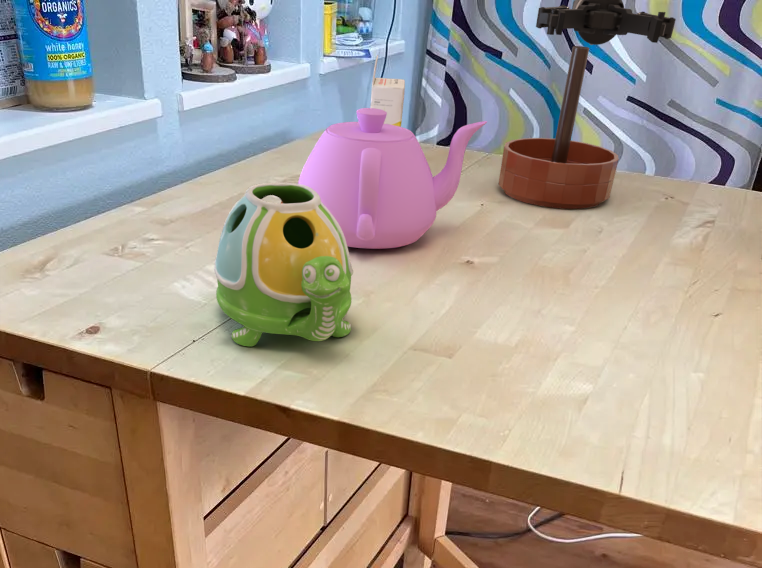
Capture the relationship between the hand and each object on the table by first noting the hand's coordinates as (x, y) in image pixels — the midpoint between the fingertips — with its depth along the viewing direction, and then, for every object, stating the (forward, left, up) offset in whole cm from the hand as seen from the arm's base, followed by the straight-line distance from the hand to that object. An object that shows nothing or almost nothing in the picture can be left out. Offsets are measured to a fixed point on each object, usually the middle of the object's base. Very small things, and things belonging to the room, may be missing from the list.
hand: (608, 27), depth 115 cm
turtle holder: (+47, +61, -21) cm, 79 cm away
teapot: (+35, +32, -21) cm, 51 cm away
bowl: (+7, +10, -20) cm, 24 cm away
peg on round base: (+7, +10, -20) cm, 23 cm away
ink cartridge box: (+31, -3, -21) cm, 37 cm away
